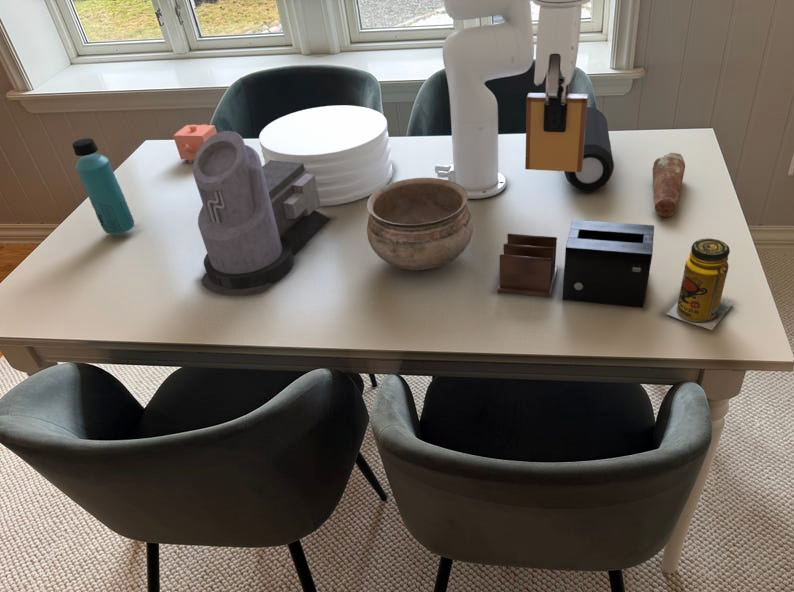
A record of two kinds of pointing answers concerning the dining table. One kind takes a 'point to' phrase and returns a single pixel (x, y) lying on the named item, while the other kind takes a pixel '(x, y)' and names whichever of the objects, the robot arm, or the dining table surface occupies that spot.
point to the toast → (555, 135)
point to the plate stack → (334, 149)
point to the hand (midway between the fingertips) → (555, 127)
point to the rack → (528, 265)
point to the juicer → (251, 215)
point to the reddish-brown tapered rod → (667, 183)
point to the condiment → (703, 285)
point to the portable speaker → (594, 155)
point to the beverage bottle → (102, 188)
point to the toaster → (608, 263)
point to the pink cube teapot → (192, 139)
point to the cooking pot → (419, 222)
